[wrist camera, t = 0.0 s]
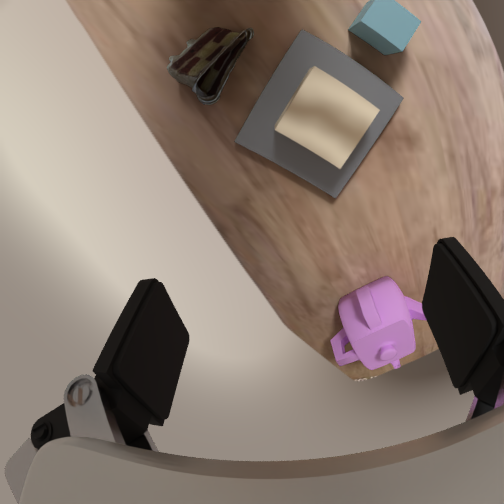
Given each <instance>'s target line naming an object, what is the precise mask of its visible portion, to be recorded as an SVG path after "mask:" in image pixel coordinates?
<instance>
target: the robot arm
mask: <svg viewBox="0 0 504 504" xmlns="http://www.w3.org/2000/svg"><path fill="white" fill-rule="evenodd" d="M422 310H423V313H424V316H425V318H426V320H427V322H428V324H429V326H430V329H431V331H432V333H433V335H434V338H435V340H436V342H437V345H438V347H439V350H440V352H441V354H442V357H443V359H444V362H445V365H446V367H447V370H448V372H449V375H450V378H451V381H452V383H453V386H454V387H455V388H458V390H459V393H460V395H461V394H463V393H466V392H469V391H471V390H473V392H474V395H475V397H474V400H473V403H472V406H471V408H470V411H469V414H468V416H467V419H466V422H464V423H461V424H459V425H456V426H454V427H451V428H449V429H446V430H443V431H441V432H437V433H435V434H432V435H429V436H425V437H422V438H419V439H416V440H412V441H409V442H405V443H402V444H398V445H394V446H390V447H385V448H381V449H376V450H372V451H366V452H361V453H355V454H350V455H344V456H337V457H328V458H319V459H309V460H296V461H262V462H261V461H228V460H215V459H204V458H195V457H187V456H180V455H173V454H167V453H161V452H159V451H158V449H157V447H156V446H155V443H154V442H153V440H152V438H151V436H150V434H149V432H148V430H147V428H148V425H149V424H152V425H158V426H163V424H164V420H165V419H167V418H168V417H169V413H170V409H171V406H172V402H173V398H174V395H175V391H176V387H177V383H178V379H179V376H180V372H181V369H182V365H183V361H184V358H185V354H186V351H187V347H188V344H189V333H188V331H187V329H186V327H185V326H184V324H183V322H182V320H181V318H180V317H179V314H178V312H177V311H176V309H175V307H174V305H173V303H172V301H171V299H170V297H169V295H168V293H167V291H166V289H165V287H164V285H163V283H161V282H159V281H158V280H157V279H155V278H154V279H146V280H140V281H139V283H138V284H137V286H136V288H135V290H134V292H133V293H132V295H131V297H130V298H129V300H128V302H127V304H126V306H125V307H124V309H123V311H122V313H121V315H120V317H119V319H118V321H117V322H116V324H115V326H114V328H113V330H112V332H111V334H110V336H109V338H108V340H107V342H106V344H105V346H104V348H103V350H102V352H101V354H100V356H99V358H98V360H97V362H96V364H95V366H94V369H93V372H94V373H95V374H96V376H95V378H93V377H92V376H90V375H80V376H78V377H76V378H75V379H74V380H72V381H71V382H70V383H69V384H68V386H67V388H66V390H65V393H64V404H62V405H60V406H59V407H57V408H56V409H54V410H52V411H51V412H49V413H48V414H46V415H44V416H43V417H41V418H40V419H38V420H37V421H36V422H35V424H34V425H33V427H32V431H31V439H30V438H28V439H27V440H26V441H25V443H24V444H23V445H22V446H21V447H20V448H19V449H18V450H17V452H16V453H15V454H14V455H13V456H12V457H11V458H10V459H9V460H8V462H7V464H6V466H5V476H6V479H7V482H8V484H9V486H10V488H11V490H12V492H13V494H14V497H15V499H16V500H17V503H18V504H504V299H503V298H502V297H501V295H500V294H499V292H498V291H497V289H496V288H495V287H494V285H493V284H492V283H491V281H490V280H489V279H488V277H487V276H486V275H485V273H484V272H483V271H482V269H481V268H480V267H479V266H478V264H477V263H476V262H475V261H474V259H473V258H472V257H471V256H470V254H469V253H468V252H467V251H466V250H465V249H464V247H463V246H462V245H461V244H460V243H459V242H458V240H457V239H456V238H454V237H449V238H443V239H439V240H438V242H437V244H435V245H434V248H433V253H432V259H431V264H430V270H429V275H428V280H427V284H426V289H425V293H424V297H423V301H422Z"/></svg>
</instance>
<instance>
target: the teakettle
mask: <svg viewBox="0 0 504 504" xmlns="http://www.w3.org/2000/svg"><path fill="white" fill-rule="evenodd" d="M338 309H339V315H340V318H341V321H342V324H343V327H344V328H343V329H341V330H340V331H339V332H338V333H337V334H336V335H335V336H334V337H333V338H332V339H331V340H330V341H331V345H332V348H333V352H334V356H335V359H336V362H337V363H338V364H339V366H343V365H346V364H349V363H352V362H354V361H357V360H360V361H361V362H362V363H363V364H364V365H365V366H366V367H367V368H368V369H370V370H373V369H376V368H379V367H381V366H384V365H386V364H389V363H391V364H392V365H393V367H394V369H396V368H399V367H401V366H400V361H399V359H400V358H402V357H404V356H406V355H408V354H410V353H412V352H414V350H415V337H414V330H413V324H412V319H420V320H426V318H425V316H424V313H423V310H422V303H419V302H417V301H415V300H413V299H411V298H409V297H407V296H403V294H402V292H401V290H400V289H399V287H398V285H397V284H396V283H395V282H394V280H392V279H391V278H390V277H388V276H385V277H382V278H380V279H377V280H375V281H373V282H371V283H369V284H367V285H365V286H363V287H361V288H359V289H357V290H355V291H353V292H351V293H349V294H347V295H345V296H343V297H342V298H340V300H339V305H338ZM349 341H350V343H351V345H352V347H353V350H351V351H348V352H346V353H345V348H344V346H345V345H346V344H347V343H348V342H349Z"/></svg>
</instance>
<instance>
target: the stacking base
mask: <svg viewBox="0 0 504 504" xmlns="http://www.w3.org/2000/svg"><path fill="white" fill-rule="evenodd" d="M402 100H403V97H402V96H401V95H400V94H398V93H397V92H396V91H395V90H394V89H392V88H391V87H390V86H389V85H387V84H386V83H385V82H383V81H382V80H381V79H380V78H378V77H377V76H376V75H374V74H373V73H372V72H370V71H369V70H367V69H366V68H365V67H363V66H362V65H360V64H359V63H357V62H356V61H355V60H353V59H352V58H350V57H349V56H347V55H345V54H344V53H342V52H341V51H339V50H338V49H336V48H334V47H333V46H331V45H329V44H328V43H326V42H324V41H323V40H321V39H319V38H317V37H316V36H314V35H312V34H310V33H308V32H306V31H304V30H303V29H302V30H301V31H300V33H299V34H298V36H297V37H296V39H295V40H294V42H293V43H292V45H291V46H290V48H289V50H288V51H287V53H286V54H285V56H284V57H283V59H282V61H281V62H280V64H279V65H278V67H277V69H276V70H275V72H274V73H273V75H272V77H271V78H270V80H269V82H268V83H267V85H266V87H265V88H264V90H263V92H262V94H261V95H260V97H259V99H258V100H257V102H256V104H255V106H254V107H253V109H252V111H251V113H250V114H249V116H248V118H247V120H246V121H245V123H244V125H243V127H242V129H241V131H240V132H239V134H238V136H237V138H236V140H235V142H236V143H238V144H240V145H242V146H244V147H246V148H248V149H250V150H251V151H253V152H255V153H257V154H259V155H261V156H263V157H265V158H267V159H268V160H270V161H272V162H274V163H276V164H278V165H279V166H281V167H283V168H285V169H287V170H288V171H290V172H292V173H294V174H296V175H297V176H299V177H301V178H302V179H304V180H306V181H308V182H309V183H311V184H313V185H314V186H316V187H318V188H319V189H321V190H323V191H324V192H326V193H328V194H329V195H331V196H332V197H334V198H336V197H337V196H338V194H339V193H340V191H341V190H342V189H343V187H344V186H345V184H346V183H347V182H348V180H349V179H350V177H351V176H352V174H353V173H354V172H355V170H356V169H357V167H358V166H359V164H360V163H361V161H362V160H363V159H364V157H365V156H366V154H367V153H368V151H369V150H370V148H371V147H372V145H373V144H374V142H375V141H376V139H377V138H378V136H379V135H380V133H381V132H382V130H383V129H384V127H385V126H386V124H387V123H388V121H389V120H390V118H391V117H392V115H393V114H394V112H395V111H396V109H397V108H398V106H399V105H400V103H401V101H402Z"/></svg>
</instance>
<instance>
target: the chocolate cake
mask: <svg viewBox="0 0 504 504" xmlns="http://www.w3.org/2000/svg"><path fill="white" fill-rule="evenodd" d="M253 35H254V31H253V29H252V28H248V29H246V30H243V31H241V32H240V33H238V32H232V31H230V30H227V29H222V28H219V27H216V28H210V29H209V30H207V31H206V32H205V33H203V34H202V35H201V37H199V38H198V39H197V40H194V39H190V40H188V41H187V45H188V47H187V48H186V49H185V50H184V51H183V52H182V53H181V54H180V55H178V56H171V57H170V58H169V60H170V62H171V63H170V64H169V65H168V66H167V69H168V72H169V73H170V75H171V76H172V77H173V78H175V79H176V80H177V81H178V82H179V83H183V84H186V85H188V86H190V87H192V91H193V92H195V93H196V95H197V97H198V99H199V101H200V102H202V103H203V104H204V105H205V104H207V105H211V104H213V103H216V102H217V101H218V100H219V98H220V93H221V91H222V89H223V87H224V85H225V83H226V81H227V79H228V77H229V73H230V72H231V71H232V69H233V68H234V66H235V62H236V60H237V59H238V58H239V56H240V54H241V52H242V50H243V49H244V48H245V45H246V44H247V42H248V40H249V39H251V38H252V37H253Z"/></svg>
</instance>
